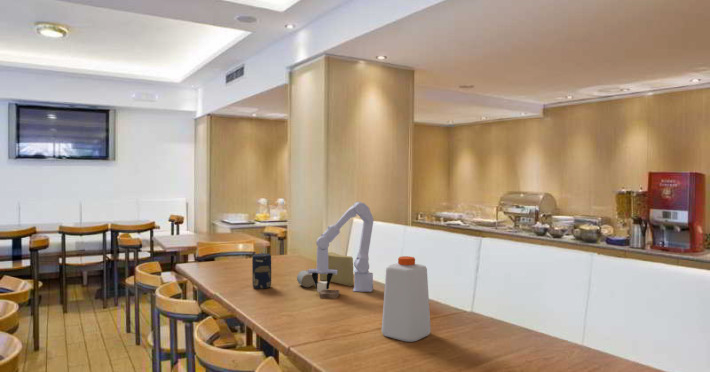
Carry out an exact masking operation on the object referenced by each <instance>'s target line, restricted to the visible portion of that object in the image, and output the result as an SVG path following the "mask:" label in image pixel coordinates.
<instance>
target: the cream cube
mask: <svg viewBox="0 0 710 372" xmlns="http://www.w3.org/2000/svg"><path fill="white" fill-rule="evenodd" d="M322 290H329V289H327V281H322V280H320V281H319V280H318V283H317V289H316V293H321V291H322Z"/></svg>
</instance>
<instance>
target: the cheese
mask: <svg viewBox="0 0 710 372" xmlns="http://www.w3.org/2000/svg"><path fill="white" fill-rule="evenodd" d="M328 269H331V270H337V275H335V274H333V276H332V278H331V281H330V283H334V284H335V283H336V284H340V285H345V286H347V287H348V286H349V287H352V286H353V287H354V259H353V257H352V256H349V255H343V254H339V253H336V252H333V251H331V252H328ZM327 275H328V274H319V280H320V281H323V282H327Z"/></svg>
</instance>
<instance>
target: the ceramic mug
mask: <svg viewBox="0 0 710 372" xmlns="http://www.w3.org/2000/svg"><path fill="white" fill-rule="evenodd" d="M296 281H297V282H298V283H297V284H299V285H301V286H302V287H303V288H307V289H308V288H311V287H312V286H313V285H314V286H315V282H314V280H313V278H312V274H308V270H304V269H303V270H301V271H299V272H298V273H297V276H296Z"/></svg>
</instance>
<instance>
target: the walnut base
mask: <svg viewBox="0 0 710 372" xmlns="http://www.w3.org/2000/svg"><path fill="white" fill-rule="evenodd" d="M339 295H340V289H339V290H338V289H328V290H322V291H321V292H319V299H332V300H333V299H338V297H339Z"/></svg>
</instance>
